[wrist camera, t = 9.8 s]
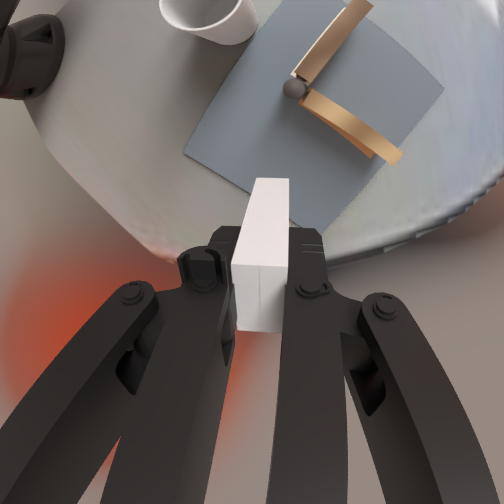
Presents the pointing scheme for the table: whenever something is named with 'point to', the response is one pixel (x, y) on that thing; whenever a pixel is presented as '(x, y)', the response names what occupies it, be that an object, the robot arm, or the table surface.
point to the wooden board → (352, 125)
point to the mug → (212, 18)
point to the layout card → (306, 120)
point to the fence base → (326, 47)
